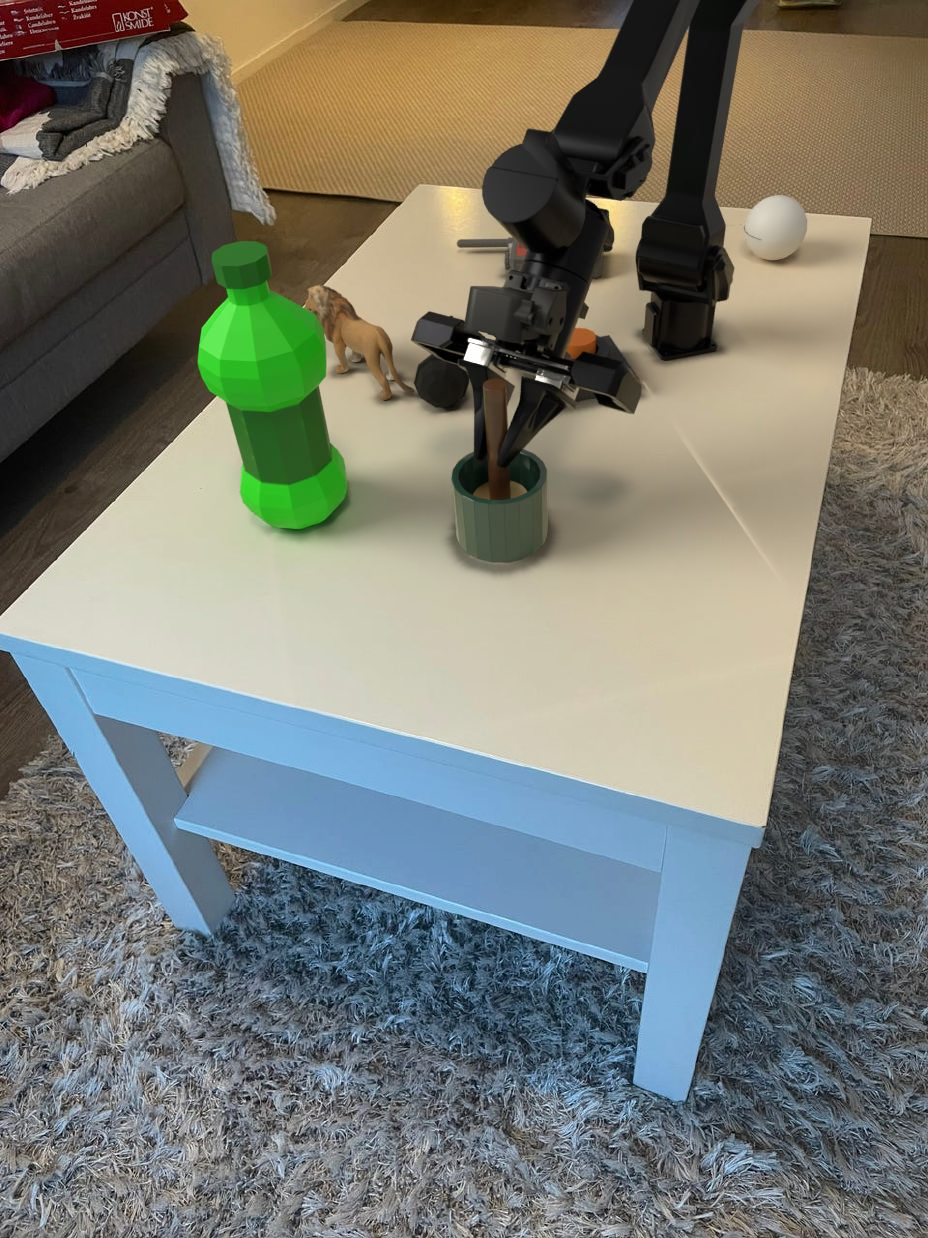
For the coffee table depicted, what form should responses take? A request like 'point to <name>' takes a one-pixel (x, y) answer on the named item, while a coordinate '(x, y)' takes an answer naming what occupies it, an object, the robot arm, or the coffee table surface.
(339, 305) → the lion figurine
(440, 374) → the microphone
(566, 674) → the coffee table surface
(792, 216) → the white ball
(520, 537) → the green pen cup
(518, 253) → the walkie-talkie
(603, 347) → the button unit
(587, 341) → the button
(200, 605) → the coffee table surface
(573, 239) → the robot arm
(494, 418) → the brown wooden dowel
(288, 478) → the plastic bottle
